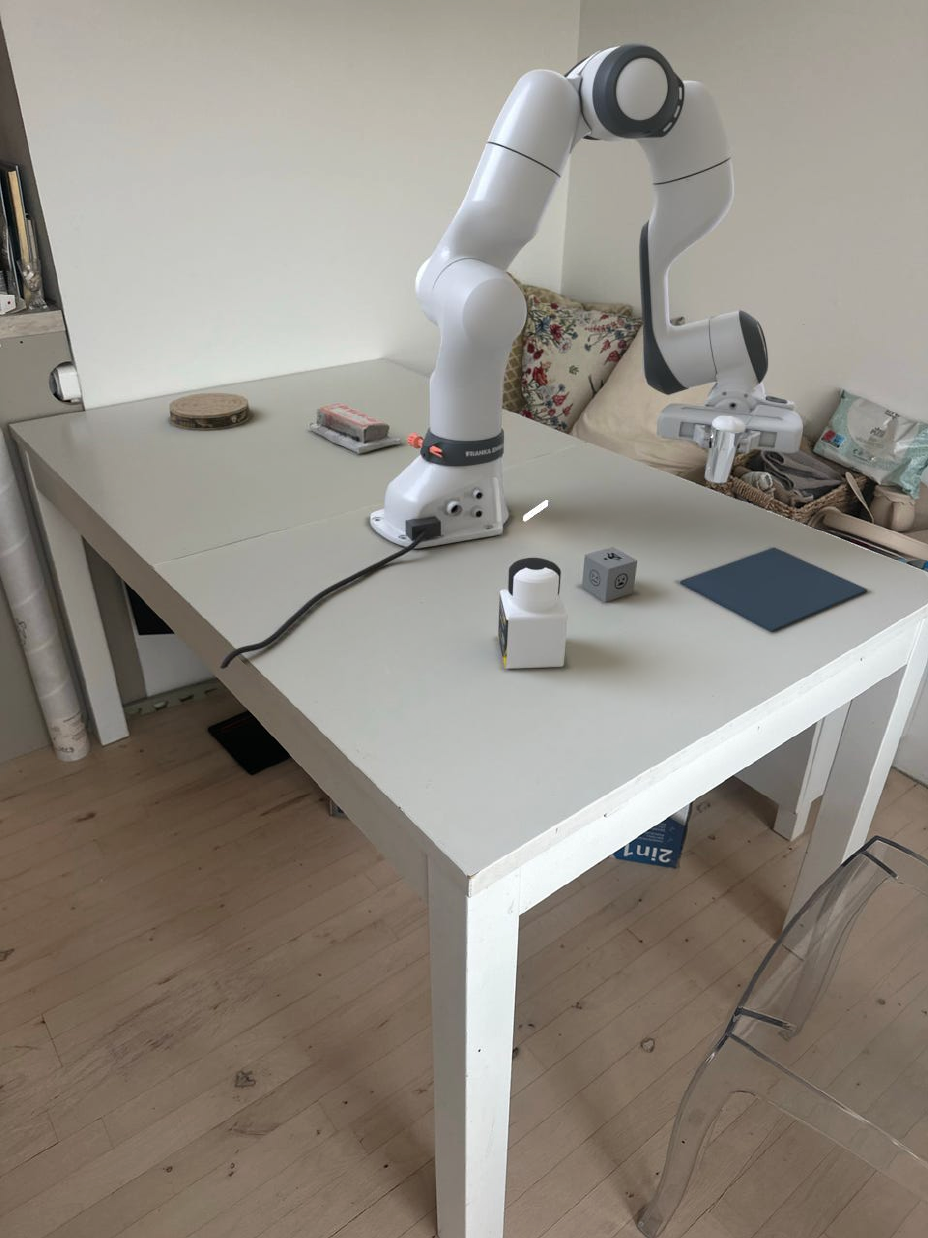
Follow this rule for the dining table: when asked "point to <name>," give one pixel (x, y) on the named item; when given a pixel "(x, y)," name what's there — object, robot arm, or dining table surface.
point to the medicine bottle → (532, 616)
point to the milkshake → (723, 447)
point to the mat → (773, 588)
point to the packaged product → (352, 429)
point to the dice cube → (609, 574)
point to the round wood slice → (209, 411)
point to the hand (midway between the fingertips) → (724, 444)
